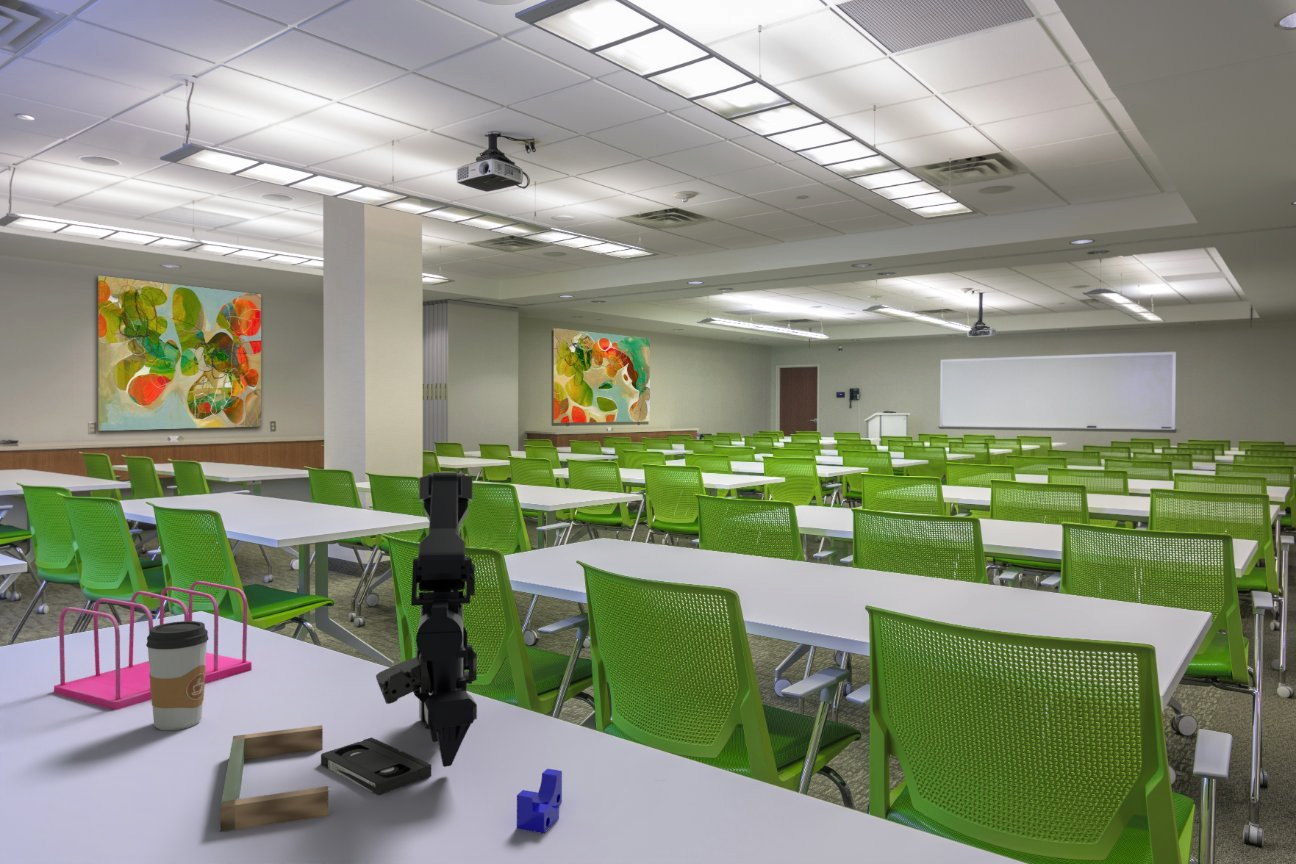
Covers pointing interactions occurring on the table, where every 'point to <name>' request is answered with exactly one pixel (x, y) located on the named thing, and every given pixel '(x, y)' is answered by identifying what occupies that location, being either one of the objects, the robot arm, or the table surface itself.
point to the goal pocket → (274, 805)
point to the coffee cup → (177, 673)
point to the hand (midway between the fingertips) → (441, 753)
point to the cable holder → (540, 803)
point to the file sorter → (134, 679)
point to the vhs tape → (375, 765)
